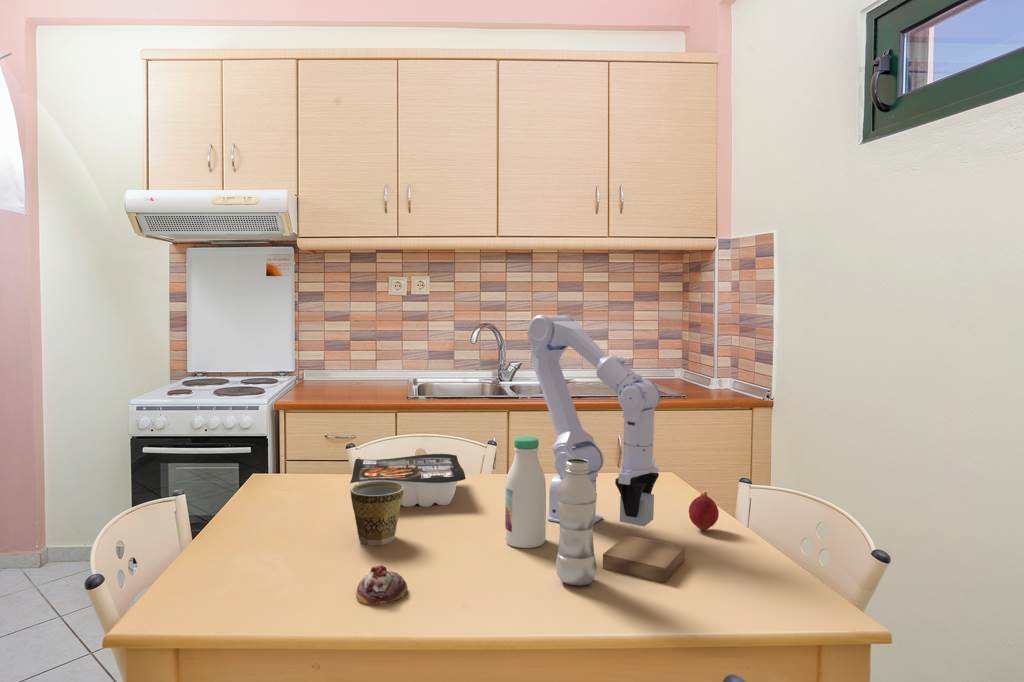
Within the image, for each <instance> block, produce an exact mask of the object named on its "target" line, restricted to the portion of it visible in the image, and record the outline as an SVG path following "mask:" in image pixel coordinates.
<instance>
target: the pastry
mask: <svg viewBox="0 0 1024 682" xmlns="http://www.w3.org/2000/svg"><path fill="white" fill-rule="evenodd" d="M407 593H408V585H407V582H406V581H405V579H404V577H403V576H402V575H400V574H399V573H397V572H395V571H392V570H391V571H390V570H388V569H387V567H386V566H385V565H382V564H380V565H375V566H372V567H371V568H370V571H369V572H368V574H367V575H364V577H362V578H361V580H360V581H359V583H358V585H357V588H356V591H355V597H356V600H357V601H358V602H359V603H361V604H364V605H369V606H386V605H389V604H394V603H397V602H398V601H401V600H402V599H403V598H404V597H405V596H406V595H407Z"/></svg>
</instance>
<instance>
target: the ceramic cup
mask: <svg viewBox="0 0 1024 682" xmlns="http://www.w3.org/2000/svg"><path fill="white" fill-rule="evenodd" d="M403 490H404V487H403V485H401V484H399V483H396V482H389V481H373V482H366V483H361V484H359V483H358V484H354V485H353V486H352V487H351V488H350V490H349V491H350V499H351V505H352V509H353V513H354V520H355V525H356V530H357V537H358V540H359V542H361V543H362V544H365V545H366V546H384V545H387V544H390V543H393V541H394V539H395V537H396V533H397V527H398V526H397V525H398V520H399V516H400V515H399V513H400V509H401V506H402V505H401V502H402V497H403Z"/></svg>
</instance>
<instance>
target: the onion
mask: <svg viewBox="0 0 1024 682" xmlns="http://www.w3.org/2000/svg"><path fill="white" fill-rule="evenodd" d="M719 513H720V512H719V508H718V505H717V504H716V502H715V501H714V500H713V499H712V498H711V497H710V496H708V492H707V491H705V490H703V491H701V493H700V495H698V496H697V497H696V498H694V499H692V501H691V503H690V504H689V506H688V514H689V515H688V516H689V519H690V521H691V523H692V524H693V525H694V526H695V527H696V528H697V529H699V530H700V531H702V532H703V531H706V530H708V529H710V528H712V527H713V526H714V525H715V524H717V522H718V520H719V516H720V515H719Z"/></svg>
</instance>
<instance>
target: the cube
mask: <svg viewBox="0 0 1024 682" xmlns="http://www.w3.org/2000/svg"><path fill="white" fill-rule="evenodd" d="M654 504H655V494H653V493H651V494H649V493H643V492H642V495H641V498H640V504H639V510H638V514H637V517H630V516H626V515H625V511H624V506H623V501H622V497H621V495H620V502H619V522H620V523H624V524H625V523H626V524H629V525H634V526H638V527H646V526H647V525H649V524H650V522H652V521H653V520H654V507H655V505H654Z"/></svg>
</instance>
